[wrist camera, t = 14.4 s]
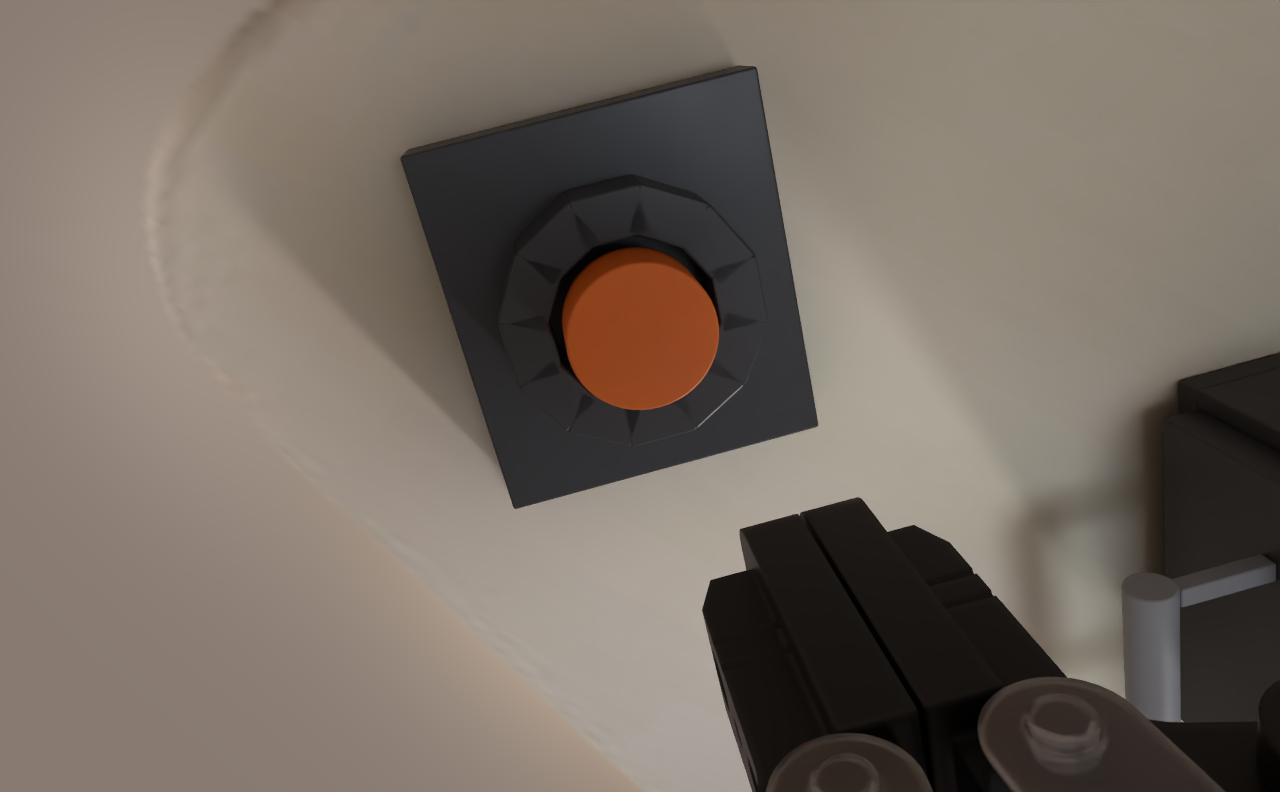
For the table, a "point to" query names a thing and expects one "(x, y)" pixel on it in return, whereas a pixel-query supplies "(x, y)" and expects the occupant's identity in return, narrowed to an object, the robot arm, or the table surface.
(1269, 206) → the table surface
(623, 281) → the button
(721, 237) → the control block
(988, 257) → the table surface
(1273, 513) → the pull-out drawer
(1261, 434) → the small drawer cabinet
